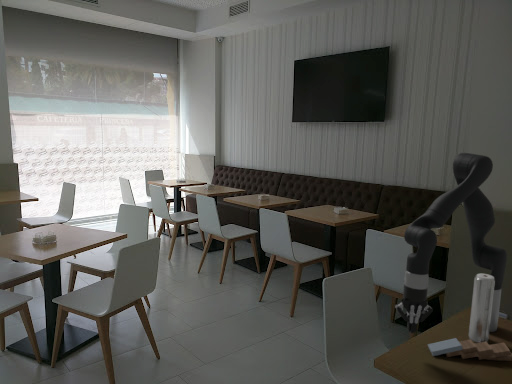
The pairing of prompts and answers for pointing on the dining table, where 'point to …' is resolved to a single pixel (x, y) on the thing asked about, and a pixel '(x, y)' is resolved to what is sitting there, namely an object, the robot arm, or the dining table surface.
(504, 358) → the walnut domino
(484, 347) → the walnut domino
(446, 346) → the slate domino
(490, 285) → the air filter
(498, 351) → the walnut domino
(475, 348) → the walnut domino
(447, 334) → the dining table surface
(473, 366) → the dining table surface
